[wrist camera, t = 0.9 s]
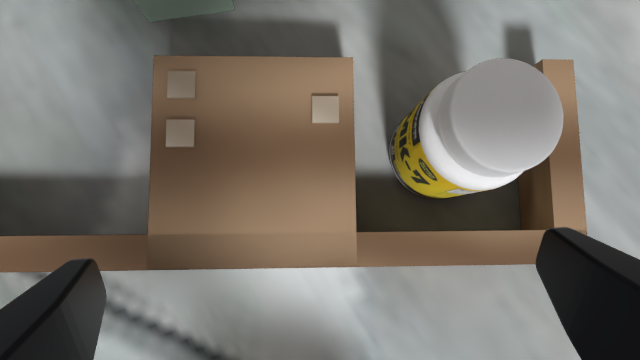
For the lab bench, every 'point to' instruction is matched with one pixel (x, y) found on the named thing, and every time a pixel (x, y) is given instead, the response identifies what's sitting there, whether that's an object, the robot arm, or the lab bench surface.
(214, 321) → the lab bench surface
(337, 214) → the slot rack
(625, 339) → the robot arm
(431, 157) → the supplement bottle
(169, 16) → the sage block
